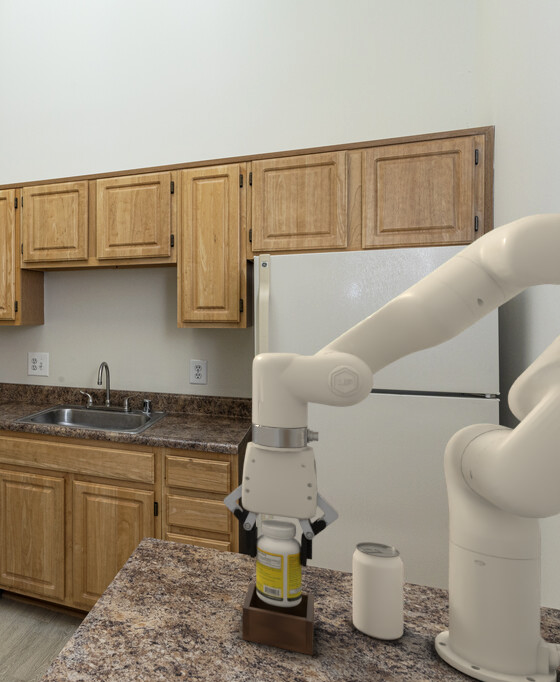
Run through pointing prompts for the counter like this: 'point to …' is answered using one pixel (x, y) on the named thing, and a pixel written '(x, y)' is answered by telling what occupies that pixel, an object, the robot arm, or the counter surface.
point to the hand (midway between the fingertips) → (278, 557)
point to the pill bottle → (278, 564)
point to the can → (378, 591)
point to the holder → (279, 623)
